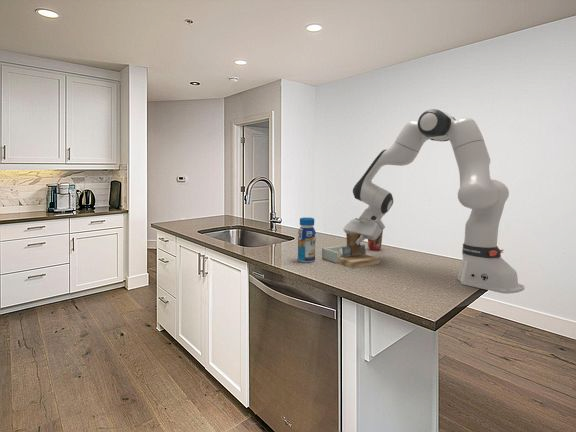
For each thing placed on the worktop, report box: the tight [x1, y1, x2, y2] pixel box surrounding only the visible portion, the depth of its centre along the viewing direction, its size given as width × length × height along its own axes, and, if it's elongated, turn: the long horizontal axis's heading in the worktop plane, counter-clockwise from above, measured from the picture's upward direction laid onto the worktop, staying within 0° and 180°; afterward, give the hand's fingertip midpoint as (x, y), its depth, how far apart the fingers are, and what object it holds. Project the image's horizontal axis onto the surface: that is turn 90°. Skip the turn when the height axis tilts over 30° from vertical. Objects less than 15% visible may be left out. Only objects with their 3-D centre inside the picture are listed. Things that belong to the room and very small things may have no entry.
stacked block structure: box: [342, 233, 366, 256], centre depth 169 cm, size 4×12×10 cm, turn 120°
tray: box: [321, 244, 367, 264], centre depth 175 cm, size 11×18×5 cm, turn 121°
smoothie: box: [367, 229, 384, 252], centre depth 196 cm, size 8×8×20 cm
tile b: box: [337, 249, 347, 258], centre depth 171 cm, size 5×5×3 cm
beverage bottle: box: [297, 217, 317, 263], centre depth 170 cm, size 8×8×20 cm
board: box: [337, 253, 381, 269], centre depth 167 cm, size 10×16×2 cm, turn 121°
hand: (352, 242), depth 169 cm, fingers closed on stacked block structure, 4 cm apart
